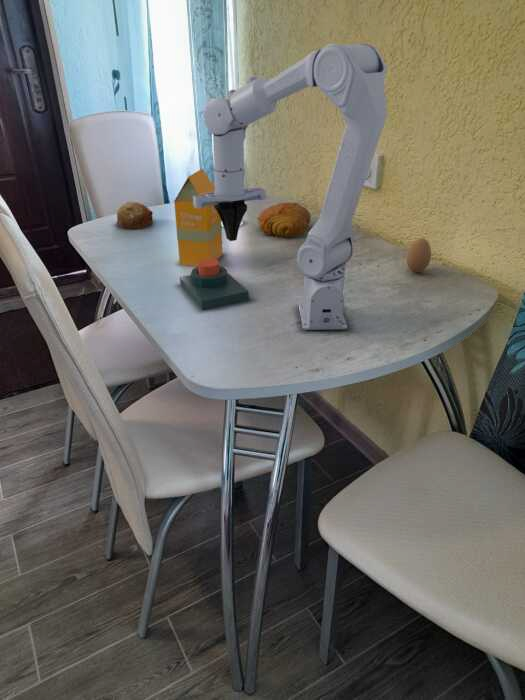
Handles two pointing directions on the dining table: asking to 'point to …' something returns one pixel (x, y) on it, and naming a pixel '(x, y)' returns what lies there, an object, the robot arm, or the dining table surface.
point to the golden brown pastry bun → (284, 219)
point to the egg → (418, 255)
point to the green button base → (213, 289)
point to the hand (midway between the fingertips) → (231, 239)
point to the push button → (208, 267)
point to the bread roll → (134, 215)
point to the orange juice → (197, 222)
